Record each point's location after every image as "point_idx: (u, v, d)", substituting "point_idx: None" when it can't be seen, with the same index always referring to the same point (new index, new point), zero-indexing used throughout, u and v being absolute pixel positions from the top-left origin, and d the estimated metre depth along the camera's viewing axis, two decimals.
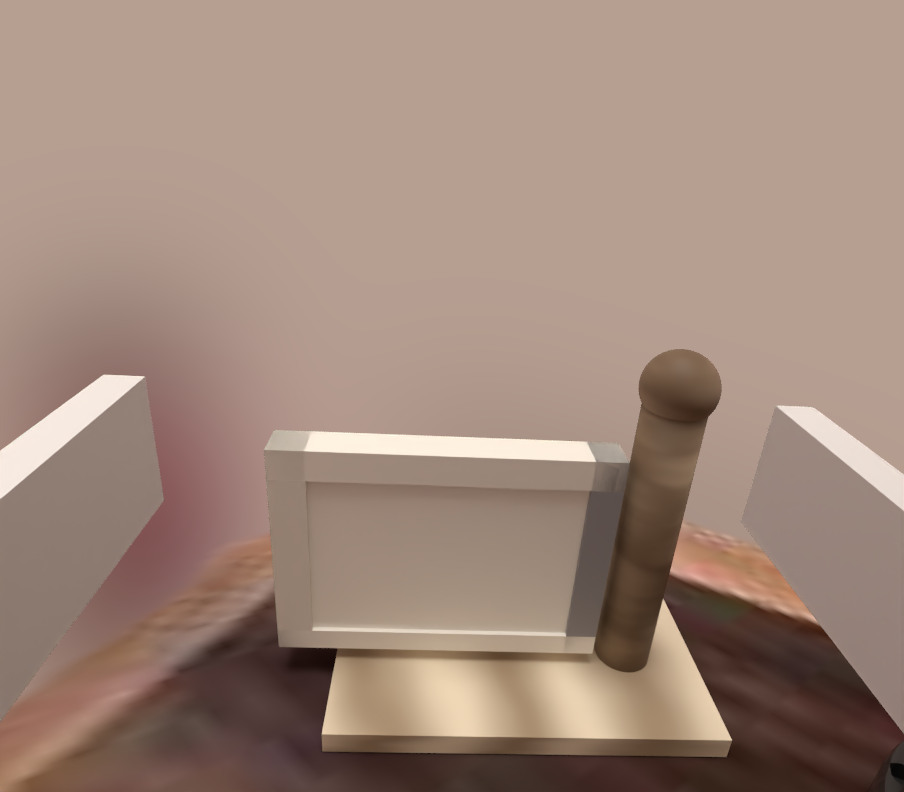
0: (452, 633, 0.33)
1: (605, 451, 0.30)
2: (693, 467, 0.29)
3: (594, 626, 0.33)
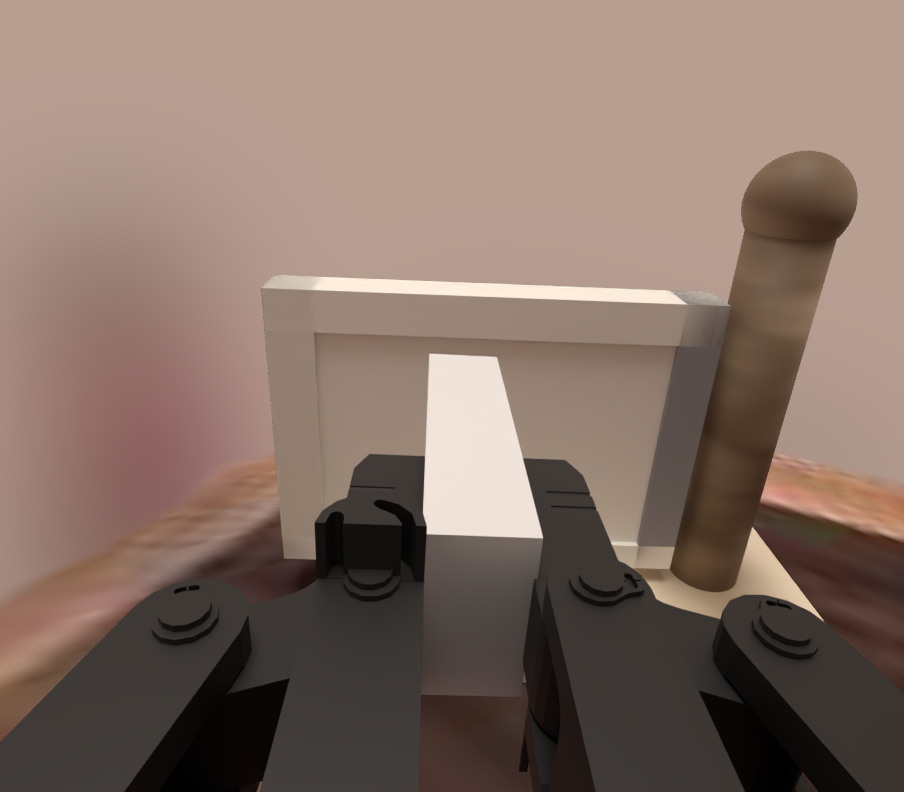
0: None
1: (696, 297, 0.23)
2: (814, 311, 0.22)
3: (674, 533, 0.26)
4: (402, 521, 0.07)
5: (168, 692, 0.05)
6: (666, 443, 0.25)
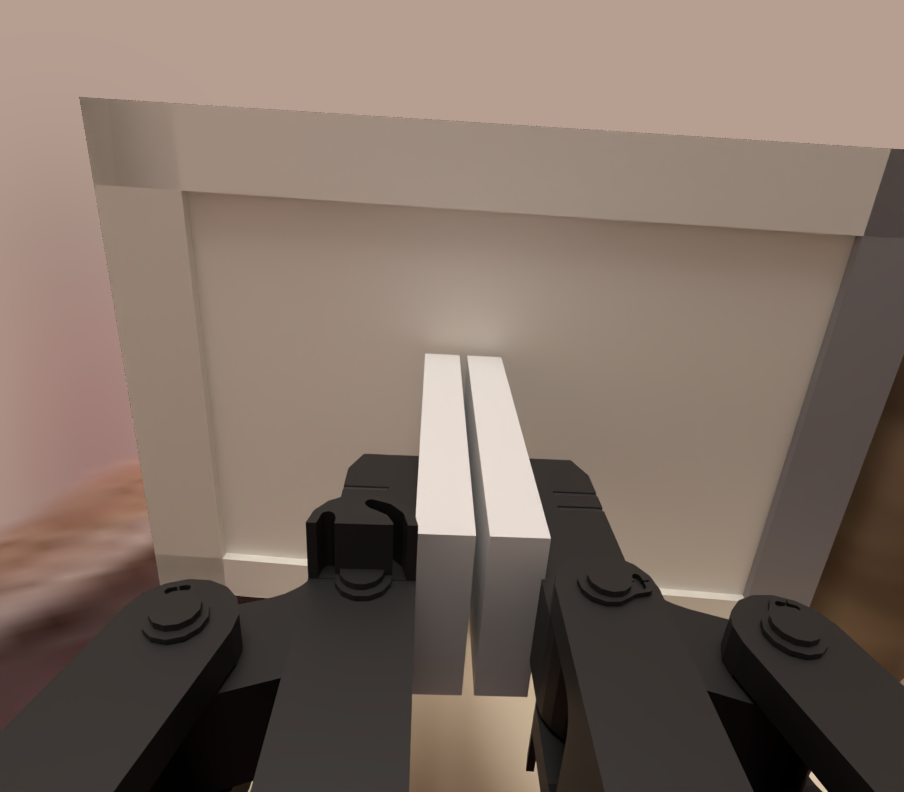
0: None
1: None
2: None
3: (811, 583, 0.15)
4: (393, 520, 0.07)
5: (159, 692, 0.05)
6: (816, 425, 0.14)
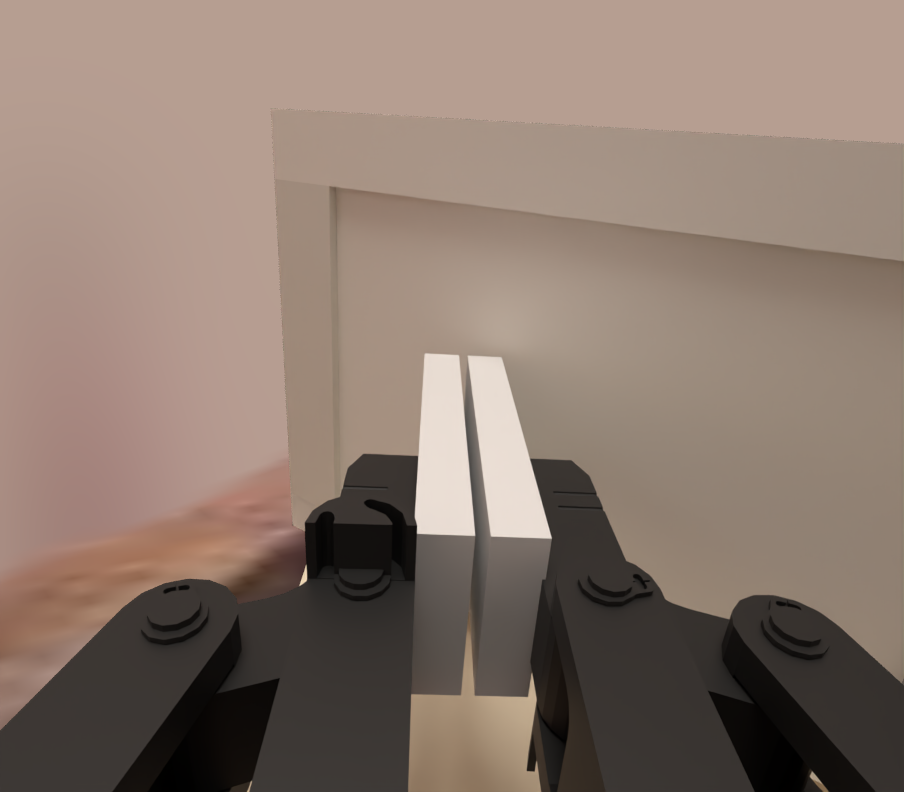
0: None
1: None
2: None
3: None
4: (392, 521, 0.07)
5: (157, 691, 0.05)
6: None
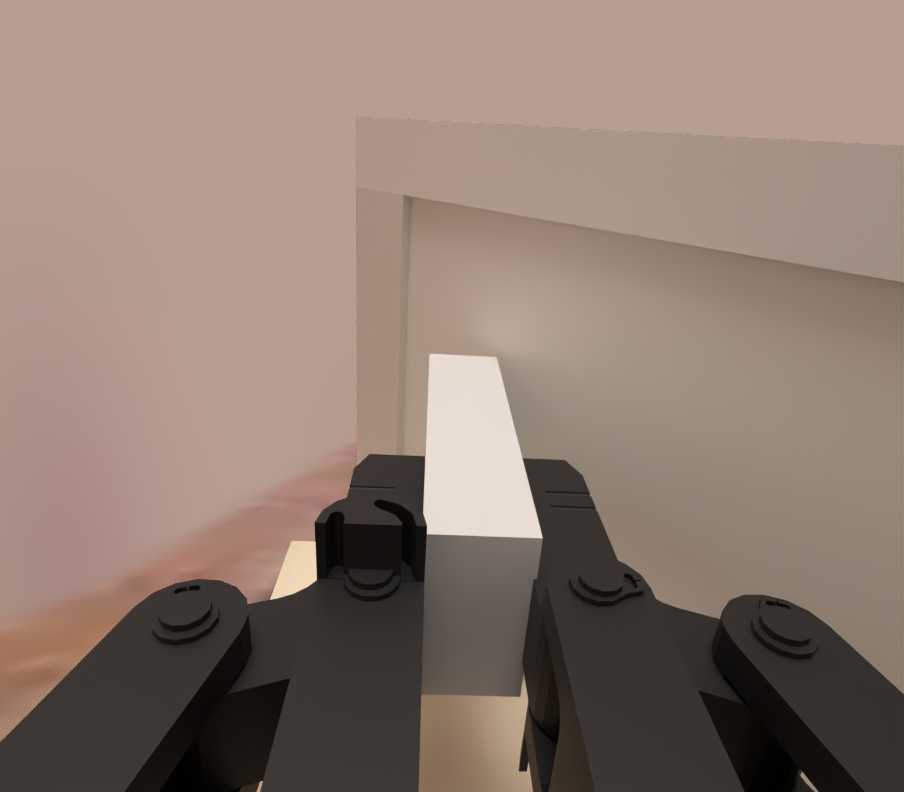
0: None
1: None
2: None
3: None
4: (402, 521, 0.07)
5: (169, 692, 0.05)
6: None
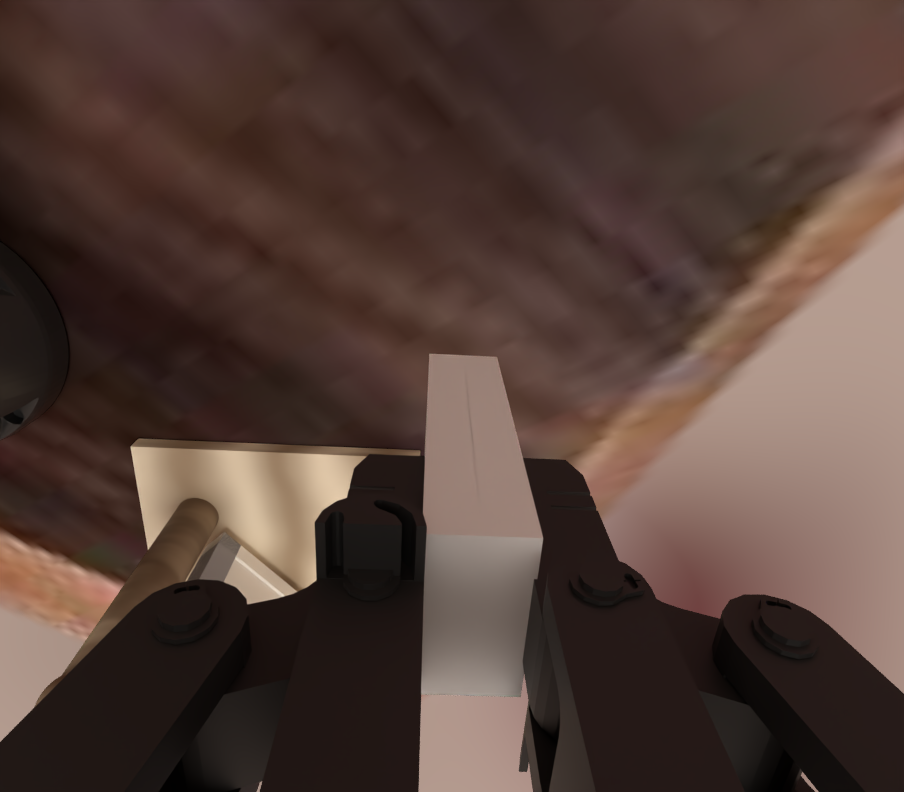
0: None
1: None
2: (89, 636, 0.33)
3: (217, 550, 0.43)
4: (402, 521, 0.07)
5: (168, 692, 0.05)
6: None
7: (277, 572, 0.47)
